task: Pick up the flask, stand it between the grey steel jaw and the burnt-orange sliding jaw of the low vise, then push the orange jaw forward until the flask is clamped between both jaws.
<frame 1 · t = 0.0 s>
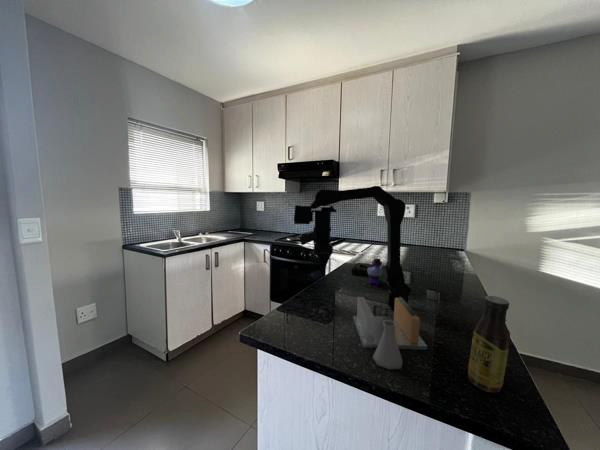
hand: (321, 266, 92), 15 cm above the counter, tool pointing down, fingers open, 9 cm apart
vise base: (386, 332, 75), on the counter
multimeter: (372, 275, 131), on the counter
sauce bottle: (484, 385, 55), on the counter
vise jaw: (405, 316, 75), point 5 cm above the counter, slide at 0.0 cm
flask: (387, 361, 63), on the counter
potion bottle: (375, 284, 116), on the counter
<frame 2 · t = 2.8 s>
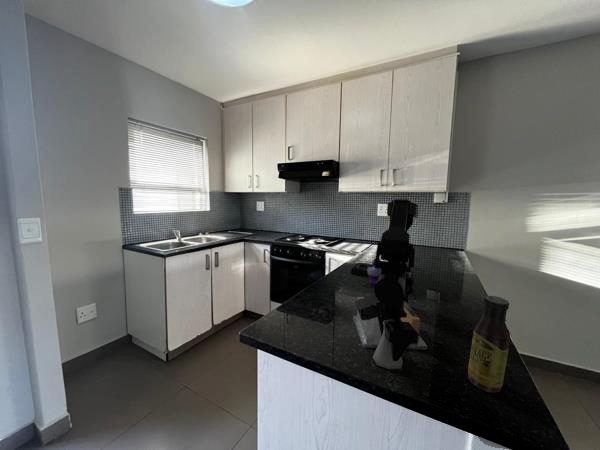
hand: (389, 348, 62), 3 cm above the counter, tool pointing down, fingers open, 9 cm apart
nothing on the counter moved.
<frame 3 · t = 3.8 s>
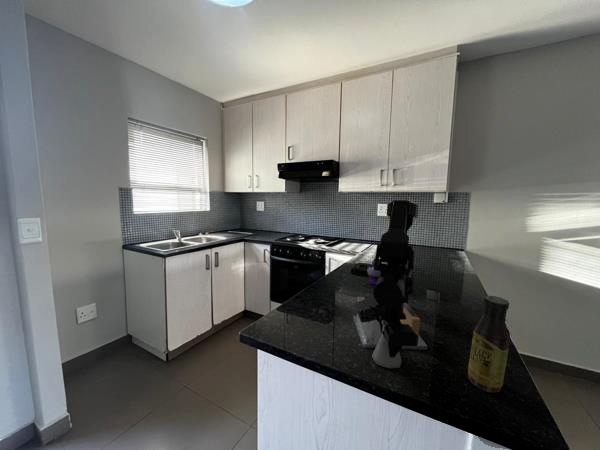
hand: (388, 350, 63), 3 cm above the counter, tool pointing down, fingers closed on flask, 5 cm apart
flask: (386, 360, 63), on the counter, touching gripper
everything else where it was.
when the fingers open (5 cm above the counter, at t = 7.4 s): flask drops 1 cm, resting on vise base.
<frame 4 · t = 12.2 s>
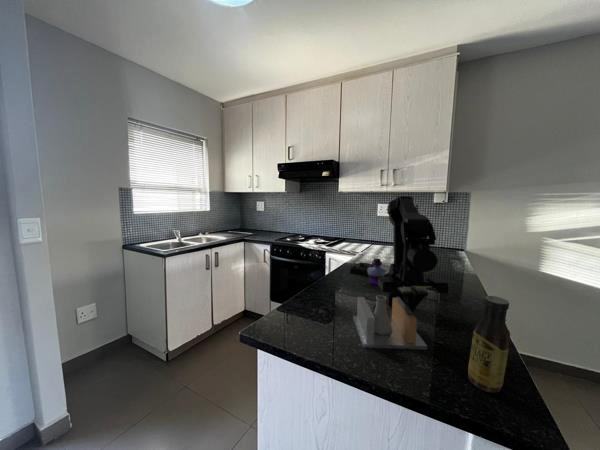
hand: (410, 312, 74), 7 cm above the counter, tool pointing down, fingers closed
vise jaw: (403, 316, 75), point 5 cm above the counter, slide at 0.7 cm, touching gripper
flask: (379, 329, 75), point 1 cm above the counter, touching vise base
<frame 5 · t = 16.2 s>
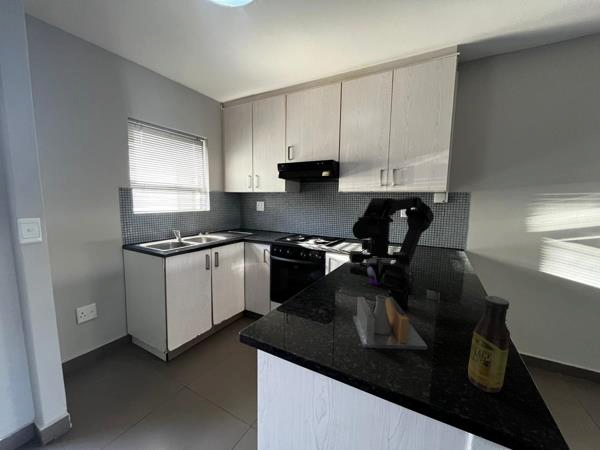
hand: (377, 282, 84), 12 cm above the counter, tool pointing down, fingers closed
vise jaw: (395, 316, 75), point 5 cm above the counter, slide at 2.9 cm
at the end: flask 0.5 cm from the target spot, point 0.8 cm above the counter; flask tilted 0°; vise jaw slide at 2.9 cm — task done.
